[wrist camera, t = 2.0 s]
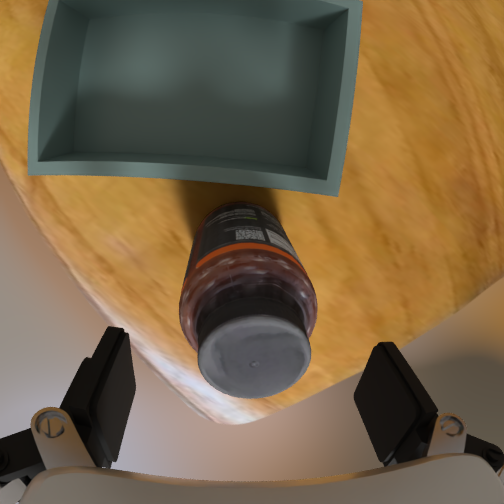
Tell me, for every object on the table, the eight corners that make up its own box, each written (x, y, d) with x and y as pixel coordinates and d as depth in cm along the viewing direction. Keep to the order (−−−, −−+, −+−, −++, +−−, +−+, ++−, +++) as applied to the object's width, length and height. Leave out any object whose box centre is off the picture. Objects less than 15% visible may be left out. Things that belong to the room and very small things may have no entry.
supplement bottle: (222, 296, 22) (221, 430, 12) (177, 226, 20) (130, 336, 9) (299, 260, 21) (355, 379, 11) (261, 182, 19) (300, 257, 9)
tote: (86, 14, 13) (51, -8, 9) (332, 26, 15) (362, 1, 11) (68, 161, 17) (27, 175, 13) (312, 178, 19) (337, 196, 15)
